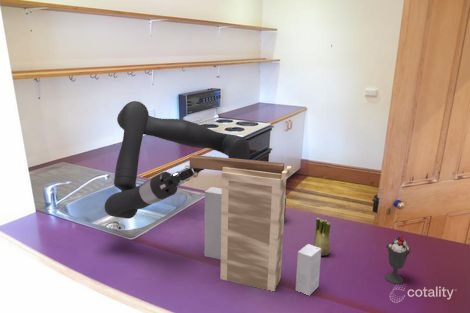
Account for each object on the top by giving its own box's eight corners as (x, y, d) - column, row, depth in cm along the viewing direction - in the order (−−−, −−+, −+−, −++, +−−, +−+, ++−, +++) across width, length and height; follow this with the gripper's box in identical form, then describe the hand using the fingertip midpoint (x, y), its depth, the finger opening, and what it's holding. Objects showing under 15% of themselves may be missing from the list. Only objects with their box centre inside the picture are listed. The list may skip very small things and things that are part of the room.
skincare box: (305, 281, 102) (308, 243, 99) (318, 287, 99) (322, 248, 97) (294, 290, 97) (297, 251, 95) (308, 297, 95) (311, 256, 92)
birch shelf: (229, 267, 108) (231, 159, 101) (284, 279, 102) (291, 166, 95) (220, 278, 102) (221, 165, 94) (278, 293, 96) (285, 172, 88)
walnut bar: (193, 164, 102) (193, 154, 101) (283, 174, 94) (284, 163, 94) (189, 167, 99) (189, 157, 98) (281, 177, 92) (282, 165, 91)
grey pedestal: (211, 249, 119) (211, 186, 114) (233, 253, 116) (234, 190, 111) (204, 256, 115) (204, 191, 110) (227, 261, 112) (228, 195, 107)
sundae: (395, 287, 100) (402, 239, 96) (377, 275, 106) (383, 229, 102) (412, 282, 102) (419, 235, 99) (393, 271, 108) (399, 225, 105)
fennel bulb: (311, 249, 121) (314, 216, 118) (325, 249, 121) (328, 216, 118) (317, 258, 115) (319, 223, 112) (331, 257, 115) (334, 223, 113)
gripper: (138, 183, 101) (180, 161, 94) (165, 171, 114) (204, 151, 107) (150, 207, 101) (193, 186, 95) (176, 192, 114) (215, 173, 108)
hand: (199, 167), depth 101 cm, fingers open, 8 cm apart
